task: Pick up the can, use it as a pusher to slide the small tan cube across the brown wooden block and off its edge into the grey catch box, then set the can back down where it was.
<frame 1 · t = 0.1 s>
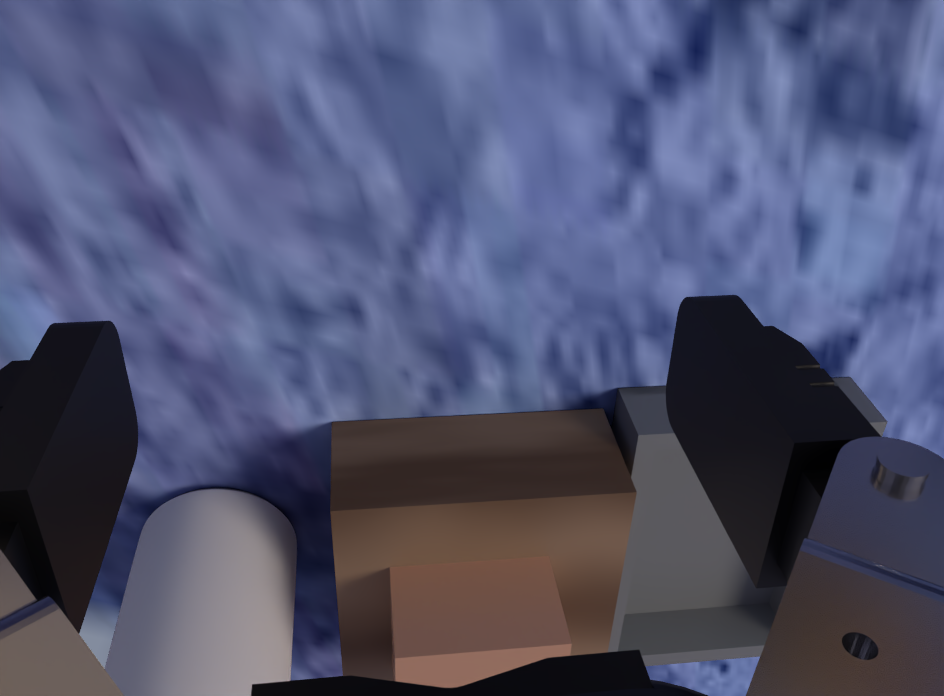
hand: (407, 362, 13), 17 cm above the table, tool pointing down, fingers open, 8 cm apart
catch box: (705, 507, 40), on the table
can: (221, 535, 38), on the table
brown wooden block: (465, 523, 39), on the table
small tan cube: (467, 615, 34), point 5 cm above the table, touching brown wooden block
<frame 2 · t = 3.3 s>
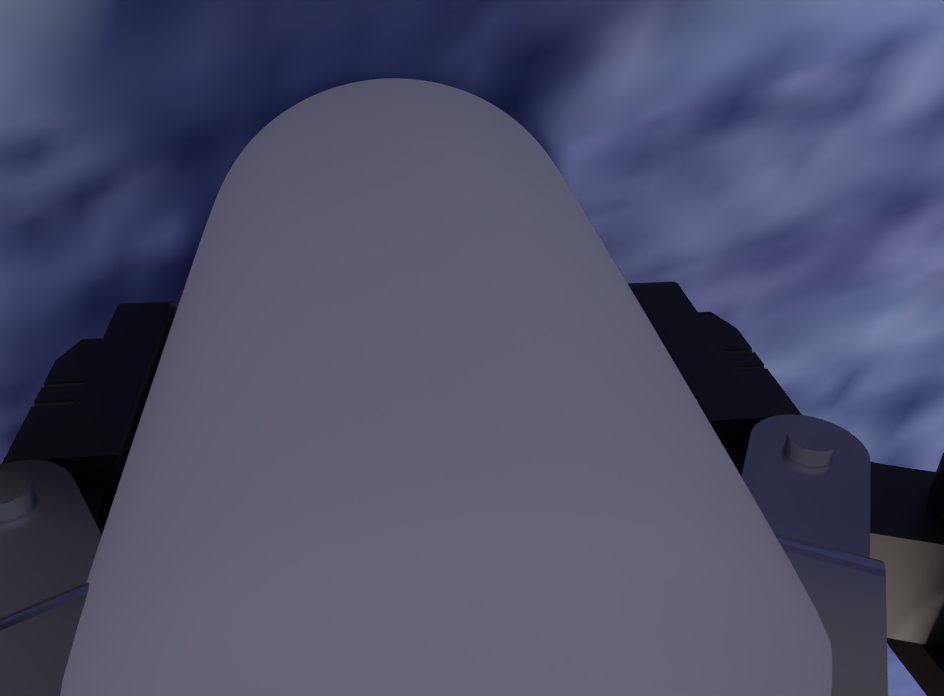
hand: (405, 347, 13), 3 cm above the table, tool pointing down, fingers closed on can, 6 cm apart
can: (395, 247, 16), on the table, touching gripper
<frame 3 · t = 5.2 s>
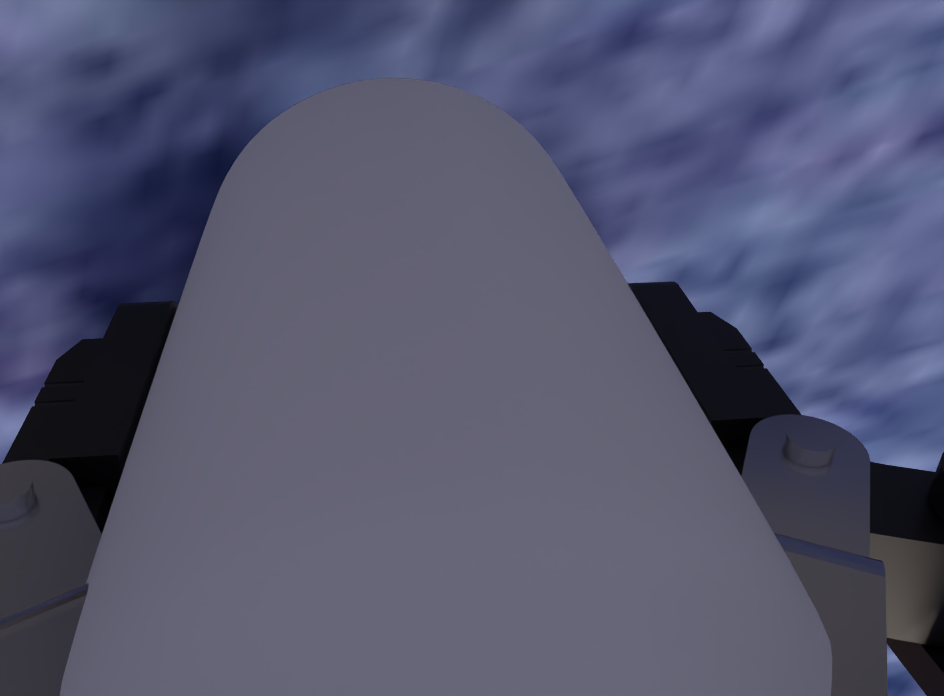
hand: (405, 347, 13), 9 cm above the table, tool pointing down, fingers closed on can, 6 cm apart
can: (395, 247, 16), point 6 cm above the table, touching gripper
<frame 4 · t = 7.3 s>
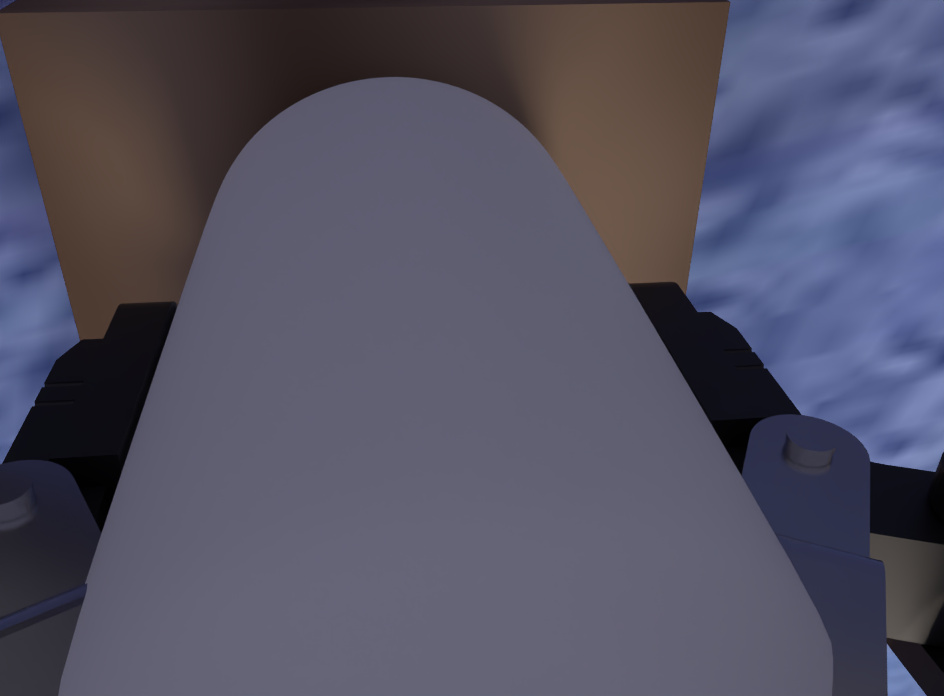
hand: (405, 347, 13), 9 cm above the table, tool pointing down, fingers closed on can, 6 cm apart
can: (395, 246, 16), point 6 cm above the table, touching gripper
brown wooden block: (382, 205, 22), on the table
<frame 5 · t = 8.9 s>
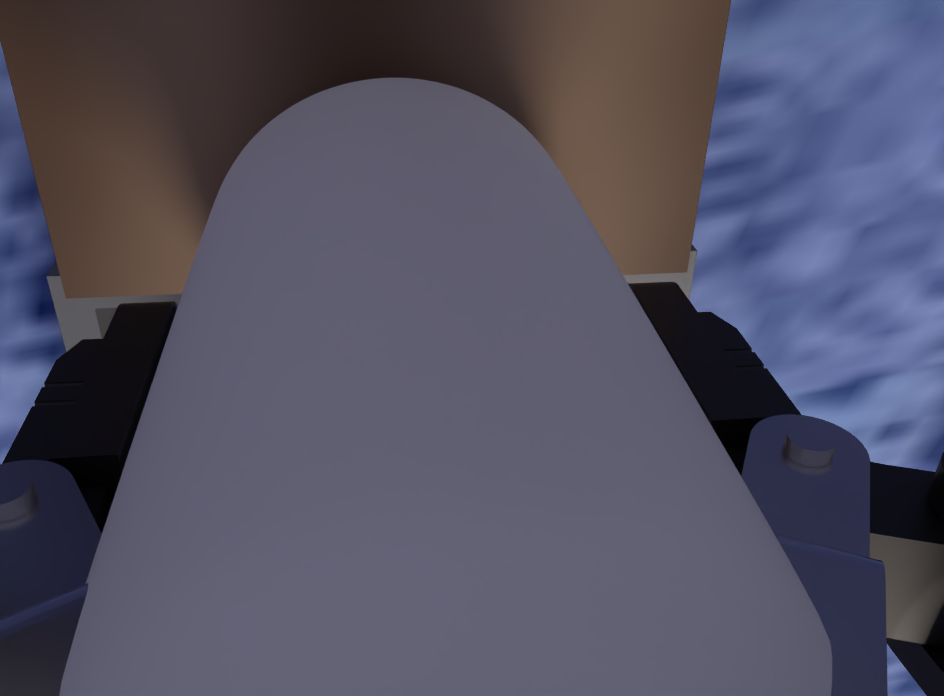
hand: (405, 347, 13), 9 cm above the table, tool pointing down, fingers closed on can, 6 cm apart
catch box: (387, 379, 24), on the table
can: (395, 246, 16), point 6 cm above the table, touching gripper
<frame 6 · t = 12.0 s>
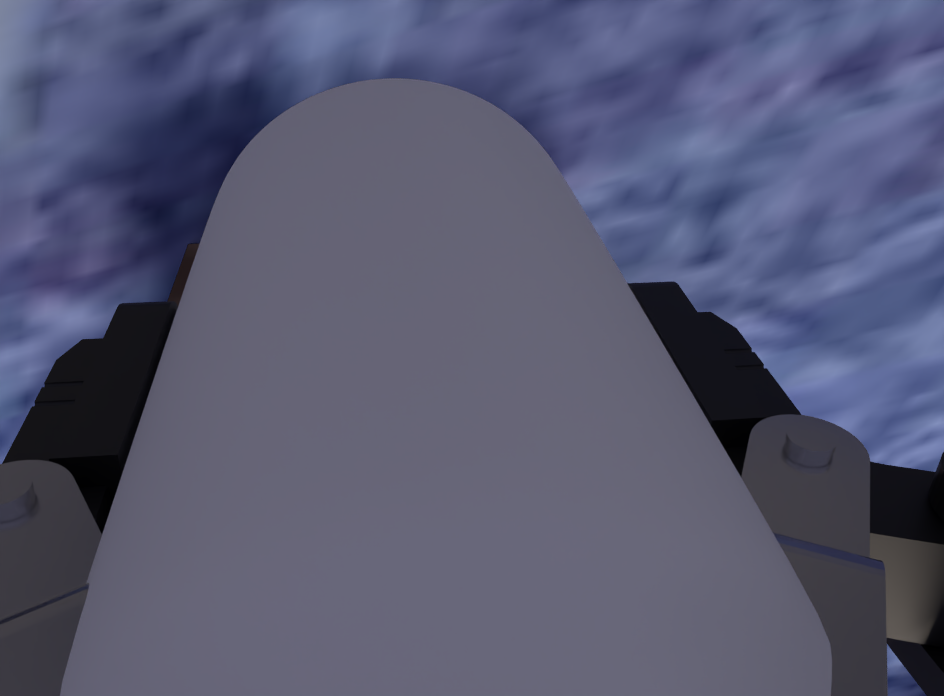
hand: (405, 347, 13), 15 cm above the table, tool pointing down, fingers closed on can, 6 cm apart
can: (395, 247, 16), point 11 cm above the table, touching gripper
brown wooden block: (386, 380, 31), on the table
when the fingers open (4 cm above the table, at t = 14.7 s): can drops 1 cm, on the table.
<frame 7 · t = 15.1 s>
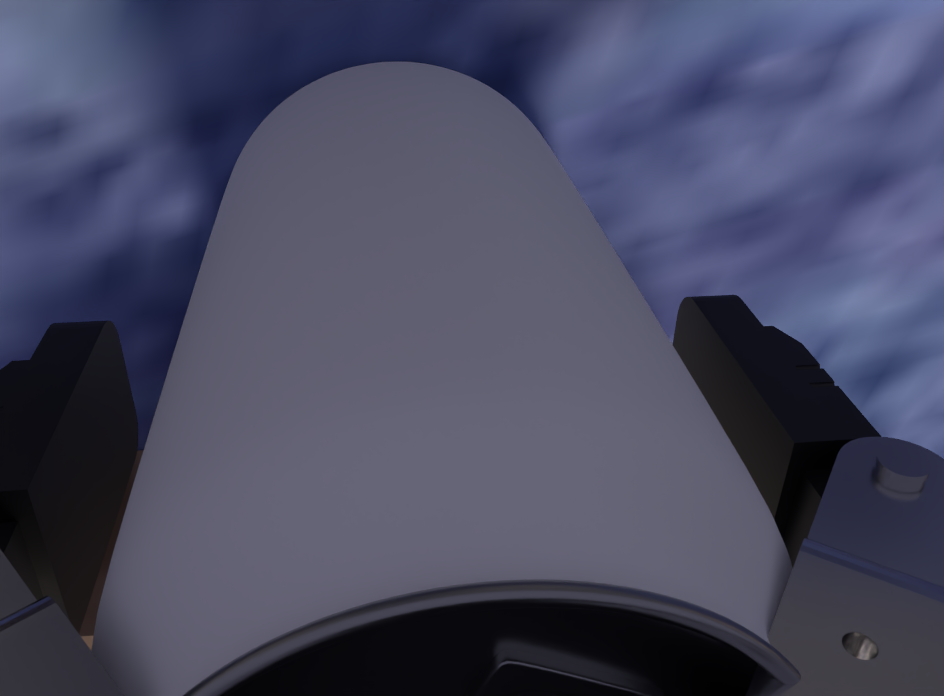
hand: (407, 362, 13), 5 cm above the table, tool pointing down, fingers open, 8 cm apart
can: (397, 222, 17), on the table
brown wooden block: (404, 608, 22), on the table
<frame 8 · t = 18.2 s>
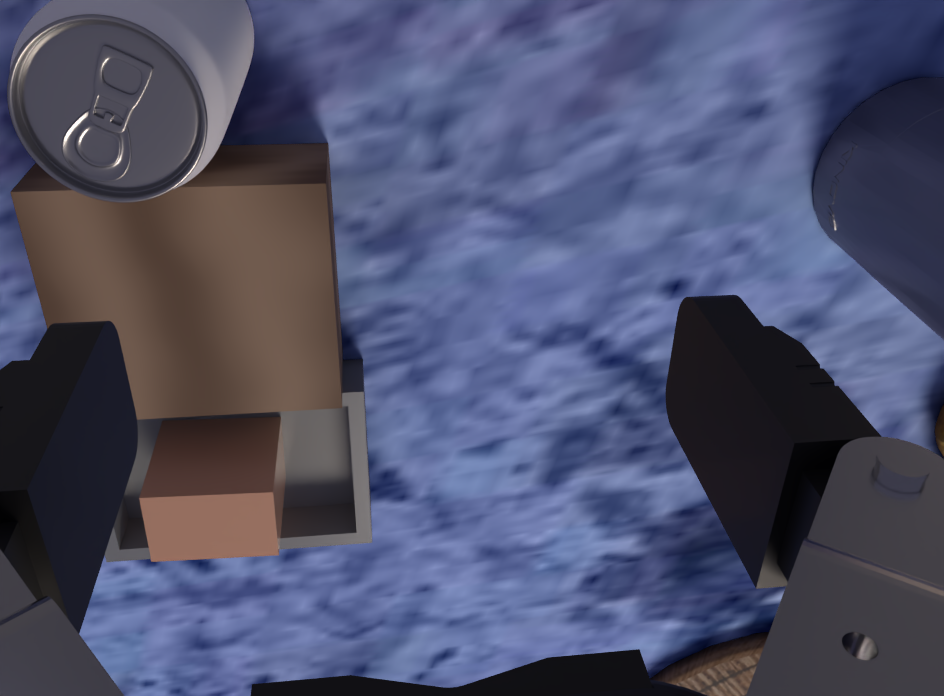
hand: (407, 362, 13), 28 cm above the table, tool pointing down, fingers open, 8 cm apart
catch box: (236, 444, 47), on the table
can: (176, 27, 36), on the table
brown wooden block: (207, 259, 42), on the table
small tan cube: (214, 454, 43), point 4 cm above the table, tilted 90°, touching catch box
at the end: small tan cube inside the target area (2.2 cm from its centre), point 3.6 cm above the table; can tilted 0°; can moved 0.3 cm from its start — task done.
